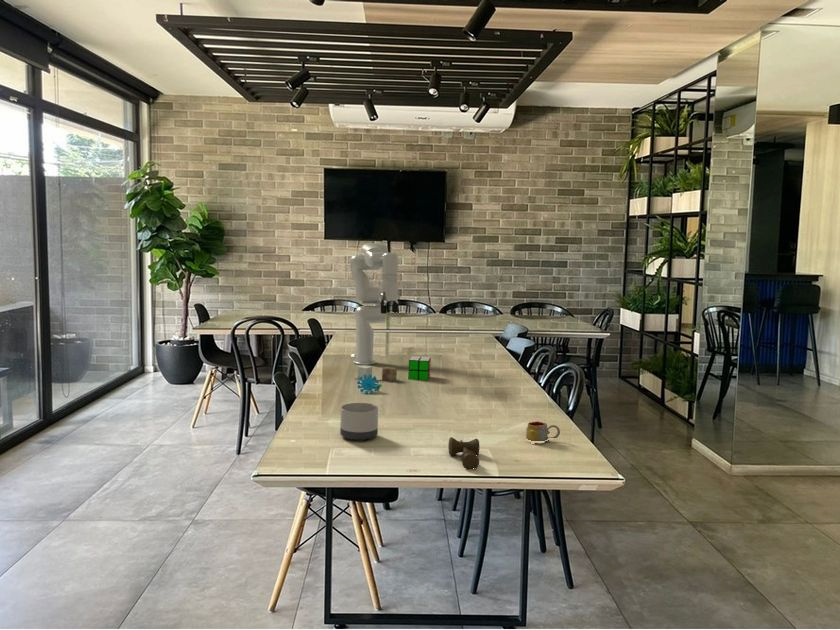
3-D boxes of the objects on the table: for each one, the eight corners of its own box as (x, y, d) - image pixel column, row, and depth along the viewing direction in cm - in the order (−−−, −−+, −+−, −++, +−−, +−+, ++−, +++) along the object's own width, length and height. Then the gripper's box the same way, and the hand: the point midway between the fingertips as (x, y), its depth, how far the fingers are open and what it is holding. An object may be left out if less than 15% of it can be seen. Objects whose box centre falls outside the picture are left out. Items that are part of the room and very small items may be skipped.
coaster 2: (377, 381, 308) (377, 380, 308) (387, 378, 315) (387, 377, 314) (391, 383, 304) (391, 382, 304) (400, 380, 310) (400, 380, 310)
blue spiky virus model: (354, 390, 281) (359, 371, 287) (354, 397, 285) (359, 378, 291) (379, 394, 280) (383, 375, 286) (379, 401, 285) (383, 382, 291)
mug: (528, 445, 217) (529, 426, 217) (523, 438, 224) (524, 420, 223) (562, 445, 219) (563, 426, 218) (556, 438, 225) (557, 420, 225)
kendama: (454, 472, 191) (445, 448, 211) (486, 472, 192) (474, 449, 212) (456, 452, 190) (447, 431, 210) (487, 453, 191) (475, 432, 211)
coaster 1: (353, 379, 309) (353, 379, 309) (363, 377, 316) (363, 376, 316) (366, 382, 305) (366, 381, 305) (376, 379, 312) (376, 378, 312)
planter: (381, 441, 216) (382, 411, 214) (343, 443, 212) (344, 413, 211) (373, 430, 228) (373, 402, 227) (337, 432, 224) (337, 403, 223)
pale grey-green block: (357, 379, 310) (357, 366, 309) (363, 377, 314) (363, 365, 313) (365, 380, 307) (366, 368, 306) (371, 378, 311) (372, 366, 311)
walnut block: (382, 380, 308) (382, 368, 307) (387, 378, 312) (388, 366, 312) (390, 381, 306) (391, 369, 305) (396, 380, 310) (396, 368, 309)
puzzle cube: (430, 376, 322) (430, 357, 321) (428, 381, 312) (429, 360, 311) (410, 375, 323) (411, 356, 322) (408, 379, 313) (408, 359, 312)
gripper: (393, 277, 322) (392, 311, 324) (373, 278, 308) (372, 313, 309) (405, 278, 318) (405, 312, 320) (386, 278, 304) (385, 314, 305)
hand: (389, 312), depth 314 cm, fingers open, 9 cm apart
